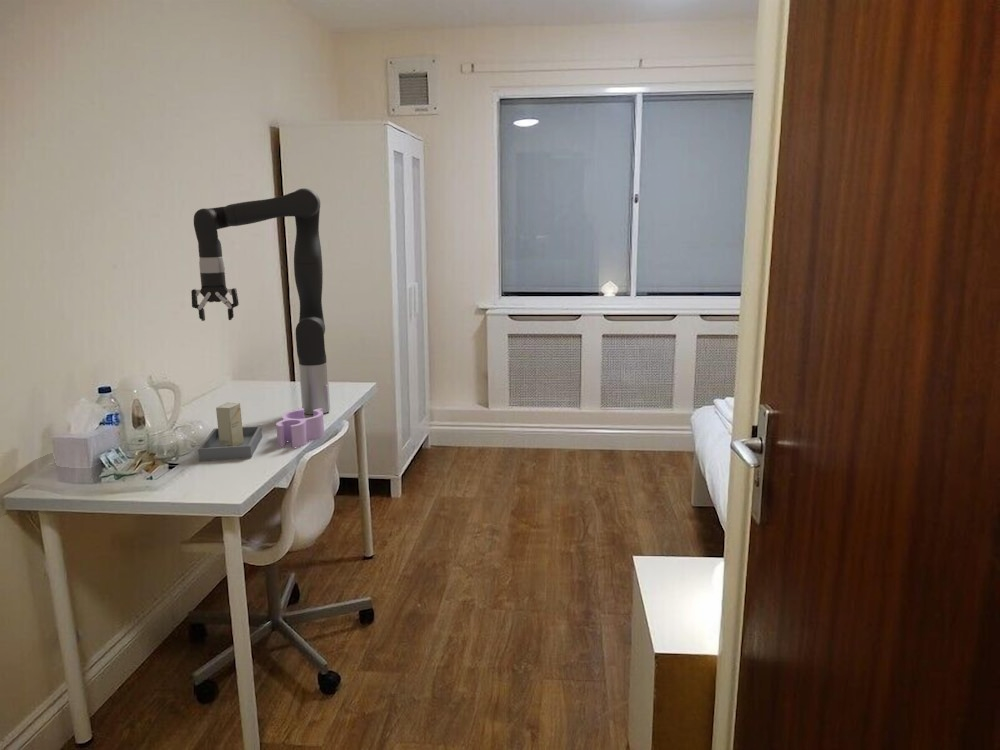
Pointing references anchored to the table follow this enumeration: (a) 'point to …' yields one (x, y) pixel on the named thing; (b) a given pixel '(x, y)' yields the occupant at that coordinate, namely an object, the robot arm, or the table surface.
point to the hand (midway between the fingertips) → (216, 320)
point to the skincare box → (229, 424)
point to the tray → (244, 450)
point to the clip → (299, 427)
